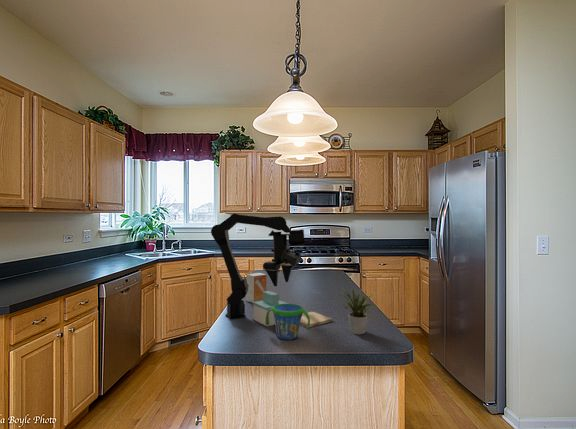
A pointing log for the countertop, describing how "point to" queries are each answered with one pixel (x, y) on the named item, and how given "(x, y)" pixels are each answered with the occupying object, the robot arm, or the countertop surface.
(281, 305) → the snack cup
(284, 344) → the countertop surface
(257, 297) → the small box
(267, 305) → the lid
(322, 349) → the countertop surface
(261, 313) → the storage box
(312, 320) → the wooden board
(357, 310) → the house plant
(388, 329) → the countertop surface
